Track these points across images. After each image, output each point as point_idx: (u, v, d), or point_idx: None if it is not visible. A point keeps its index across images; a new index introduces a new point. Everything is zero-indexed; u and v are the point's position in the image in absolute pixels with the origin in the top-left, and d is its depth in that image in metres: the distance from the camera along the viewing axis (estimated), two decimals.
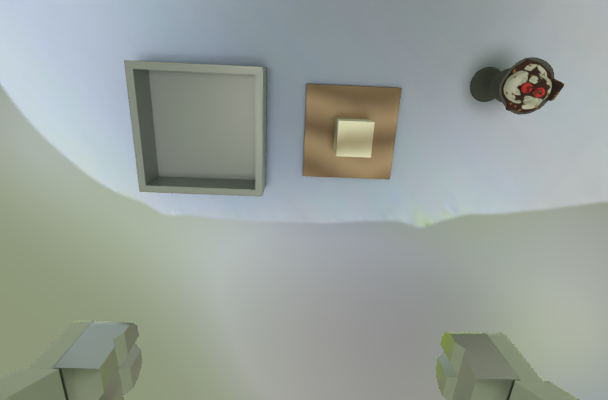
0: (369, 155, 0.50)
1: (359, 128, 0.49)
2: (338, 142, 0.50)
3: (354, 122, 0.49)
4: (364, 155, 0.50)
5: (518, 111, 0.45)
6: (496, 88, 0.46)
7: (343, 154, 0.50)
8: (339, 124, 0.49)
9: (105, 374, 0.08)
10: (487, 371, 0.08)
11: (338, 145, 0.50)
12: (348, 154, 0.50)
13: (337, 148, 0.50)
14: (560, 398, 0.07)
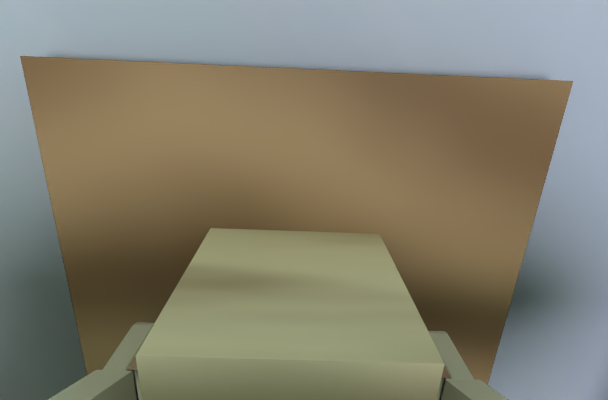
0: (151, 370, 0.06)
1: None
2: None
3: None
4: (195, 371, 0.06)
5: None
6: None
7: (378, 376, 0.06)
8: None
9: None
10: None
11: None
12: (335, 375, 0.06)
13: None
14: (487, 396, 0.07)
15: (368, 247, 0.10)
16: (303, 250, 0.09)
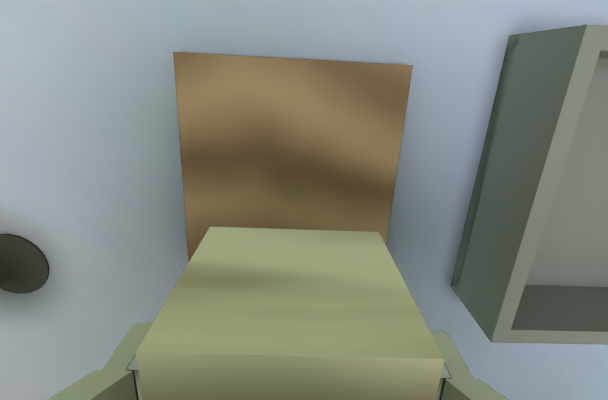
0: (151, 366, 0.06)
1: None
2: None
3: None
4: (195, 367, 0.06)
5: None
6: None
7: (379, 372, 0.06)
8: None
9: None
10: None
11: None
12: (335, 371, 0.06)
13: None
14: (487, 396, 0.07)
15: (367, 245, 0.10)
16: (302, 248, 0.09)
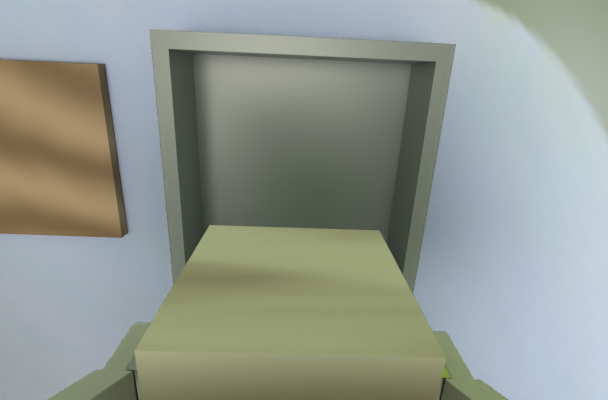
0: (150, 365, 0.06)
1: None
2: None
3: None
4: (194, 366, 0.06)
5: None
6: None
7: (380, 370, 0.06)
8: None
9: None
10: None
11: None
12: (336, 369, 0.06)
13: None
14: (487, 396, 0.07)
15: (367, 243, 0.10)
16: (302, 246, 0.09)
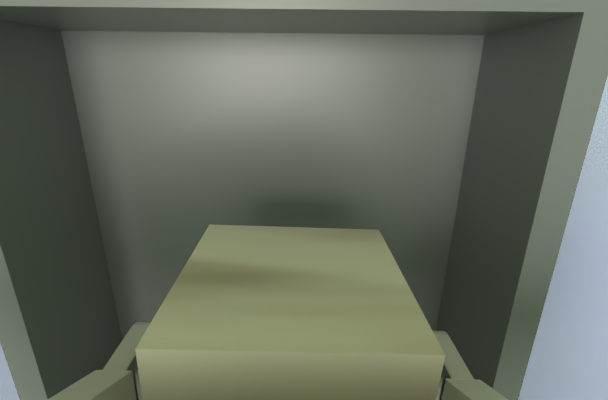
0: (151, 363, 0.06)
1: None
2: None
3: None
4: (195, 364, 0.06)
5: None
6: None
7: (379, 368, 0.06)
8: None
9: None
10: None
11: None
12: (336, 367, 0.06)
13: None
14: (487, 396, 0.07)
15: (367, 242, 0.10)
16: (302, 246, 0.09)
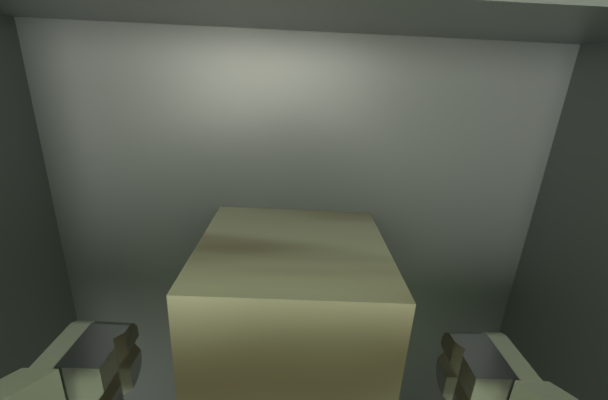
0: (178, 308, 0.07)
1: None
2: (393, 380, 0.08)
3: None
4: (214, 309, 0.07)
5: None
6: None
7: (363, 314, 0.07)
8: None
9: (105, 374, 0.08)
10: (487, 371, 0.08)
11: (394, 364, 0.08)
12: (327, 313, 0.07)
13: (401, 347, 0.07)
14: (560, 398, 0.07)
15: (359, 222, 0.11)
16: (302, 224, 0.11)
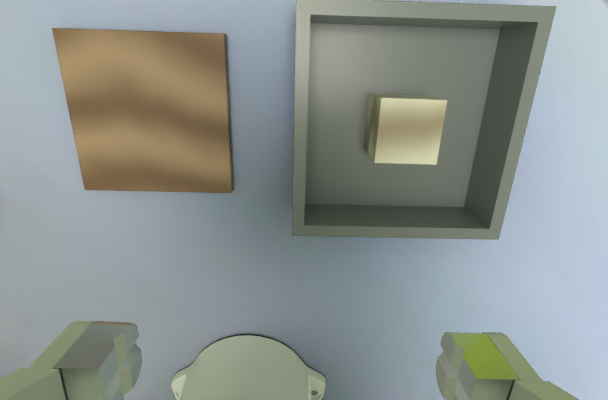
0: (383, 102, 0.26)
1: (400, 151, 0.28)
2: (440, 126, 0.27)
3: (409, 161, 0.28)
4: (393, 102, 0.26)
5: None
6: None
7: (433, 103, 0.27)
8: (435, 158, 0.28)
9: (105, 374, 0.08)
10: (487, 371, 0.08)
11: (440, 120, 0.27)
12: (423, 103, 0.27)
13: (443, 115, 0.27)
14: (560, 398, 0.07)
15: (422, 95, 0.30)
16: (403, 95, 0.30)
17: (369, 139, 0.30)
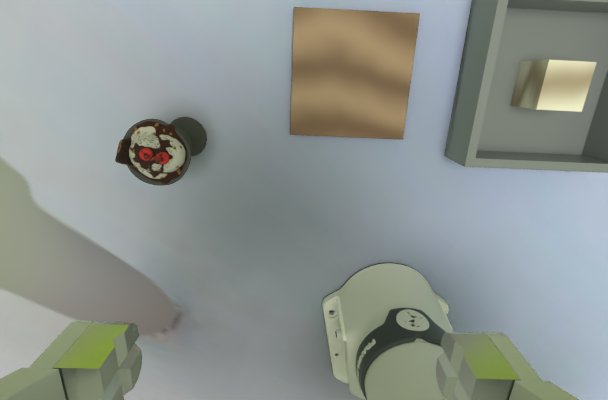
0: (550, 62, 0.36)
1: (557, 100, 0.38)
2: (588, 82, 0.37)
3: (562, 109, 0.38)
4: (557, 62, 0.36)
5: (156, 122, 0.34)
6: (187, 145, 0.38)
7: (585, 64, 0.36)
8: (581, 106, 0.38)
9: (105, 374, 0.08)
10: (487, 371, 0.08)
11: (589, 77, 0.37)
12: (578, 64, 0.36)
13: (591, 73, 0.37)
14: (560, 398, 0.07)
15: None
16: None
17: (524, 95, 0.40)
